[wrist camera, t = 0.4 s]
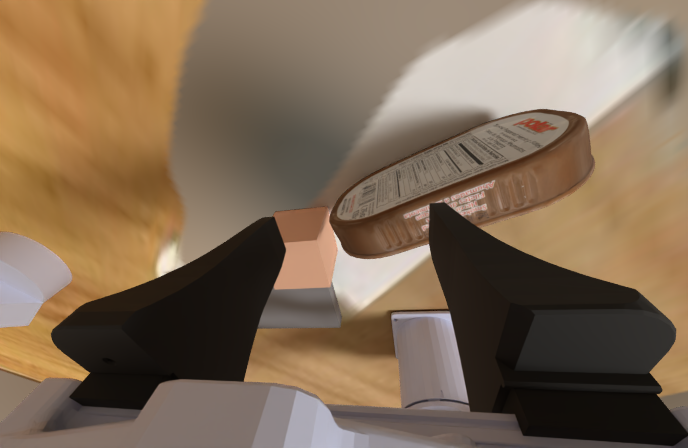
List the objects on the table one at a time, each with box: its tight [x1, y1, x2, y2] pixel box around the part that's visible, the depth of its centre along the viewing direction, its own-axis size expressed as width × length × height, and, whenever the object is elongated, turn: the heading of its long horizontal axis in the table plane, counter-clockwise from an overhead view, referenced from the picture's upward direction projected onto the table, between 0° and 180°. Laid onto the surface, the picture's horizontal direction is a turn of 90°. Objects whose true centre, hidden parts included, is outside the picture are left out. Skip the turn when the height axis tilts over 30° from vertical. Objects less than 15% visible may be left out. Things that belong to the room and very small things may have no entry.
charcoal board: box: [258, 282, 342, 328], centre depth 30 cm, size 9×18×2 cm, turn 100°
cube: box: [272, 207, 338, 290], centre depth 22 cm, size 5×5×5 cm
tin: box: [329, 109, 595, 259], centre depth 16 cm, size 15×3×8 cm, turn 118°
